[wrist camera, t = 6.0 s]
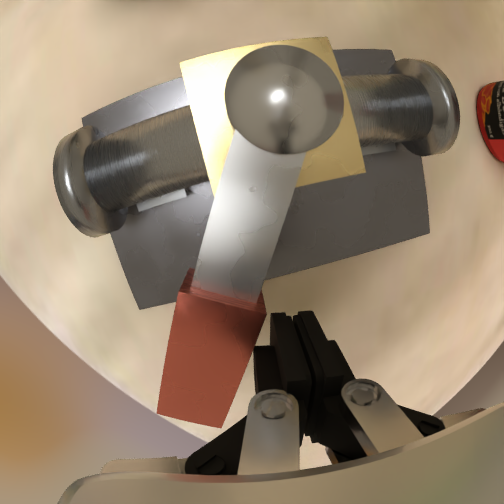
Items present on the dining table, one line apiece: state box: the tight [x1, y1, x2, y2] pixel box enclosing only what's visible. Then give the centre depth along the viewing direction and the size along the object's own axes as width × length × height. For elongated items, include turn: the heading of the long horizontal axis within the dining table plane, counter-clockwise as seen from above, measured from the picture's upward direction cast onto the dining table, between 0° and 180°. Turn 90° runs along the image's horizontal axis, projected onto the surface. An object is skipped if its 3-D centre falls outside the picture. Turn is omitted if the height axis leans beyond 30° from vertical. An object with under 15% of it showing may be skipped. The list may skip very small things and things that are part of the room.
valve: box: [53, 37, 460, 310], centre depth 13 cm, size 22×14×7 cm, turn 104°
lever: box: [157, 45, 344, 428], centre depth 9 cm, size 14×4×2 cm, turn 163°
